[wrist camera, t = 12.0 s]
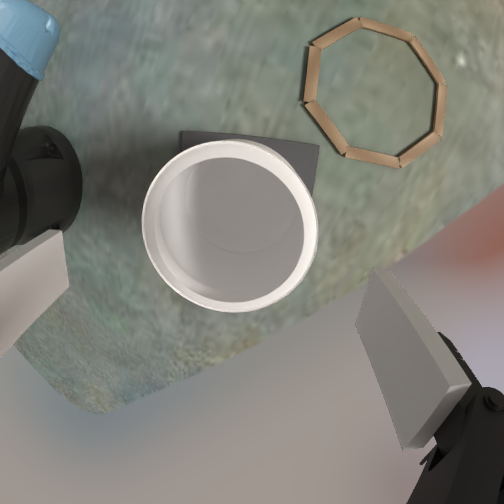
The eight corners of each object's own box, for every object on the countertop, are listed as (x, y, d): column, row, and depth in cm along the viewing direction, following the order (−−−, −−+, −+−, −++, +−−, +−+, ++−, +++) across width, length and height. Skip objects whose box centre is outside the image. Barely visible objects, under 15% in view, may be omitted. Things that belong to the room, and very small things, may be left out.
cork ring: (296, 148, 30) (297, 149, 29) (313, 8, 24) (313, 6, 23) (433, 177, 30) (435, 178, 29) (446, 49, 24) (448, 48, 23)
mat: (177, 230, 34) (176, 231, 33) (183, 130, 30) (182, 130, 29) (302, 245, 34) (303, 246, 33) (318, 145, 30) (319, 145, 29)
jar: (176, 172, 31) (109, 206, 17) (260, 119, 28) (257, 103, 14) (230, 254, 34) (207, 337, 20) (313, 207, 32) (349, 266, 18)
